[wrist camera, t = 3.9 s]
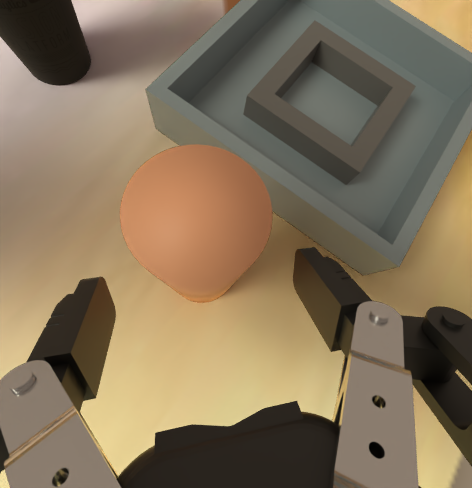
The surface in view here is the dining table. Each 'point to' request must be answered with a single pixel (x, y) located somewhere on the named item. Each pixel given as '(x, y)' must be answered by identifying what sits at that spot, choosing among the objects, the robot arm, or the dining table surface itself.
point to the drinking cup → (45, 38)
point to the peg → (196, 219)
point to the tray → (328, 115)
